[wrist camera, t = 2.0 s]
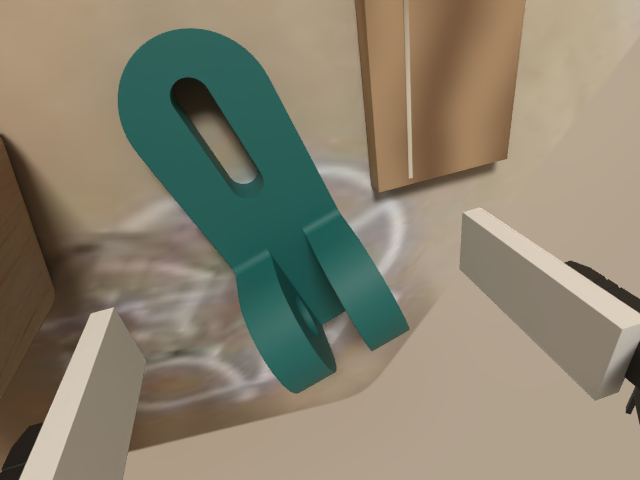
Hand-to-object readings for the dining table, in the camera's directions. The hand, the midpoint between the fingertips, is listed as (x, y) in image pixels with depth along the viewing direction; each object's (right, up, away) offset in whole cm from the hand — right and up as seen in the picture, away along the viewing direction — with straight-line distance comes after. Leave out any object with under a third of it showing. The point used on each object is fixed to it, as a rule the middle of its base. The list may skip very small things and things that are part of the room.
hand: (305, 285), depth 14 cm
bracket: (-3, +4, +8) cm, 9 cm away
